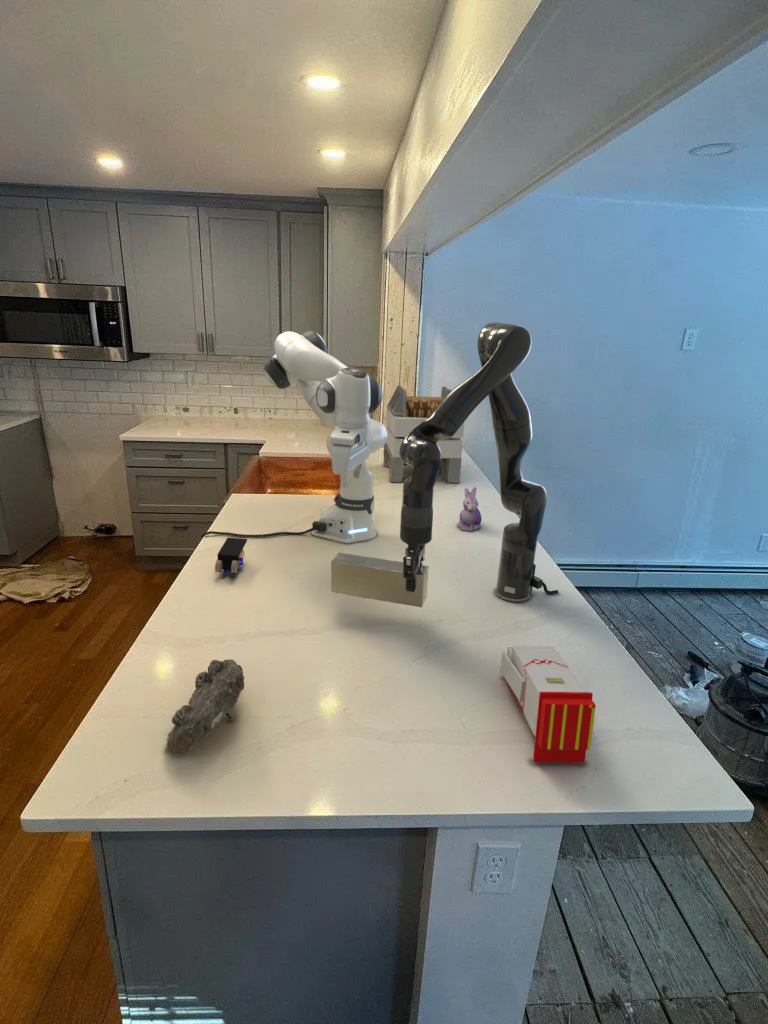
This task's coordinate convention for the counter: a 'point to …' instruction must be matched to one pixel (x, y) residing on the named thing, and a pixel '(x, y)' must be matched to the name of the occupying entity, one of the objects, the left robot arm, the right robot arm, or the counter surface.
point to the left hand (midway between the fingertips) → (351, 482)
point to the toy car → (230, 556)
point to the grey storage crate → (404, 419)
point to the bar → (376, 579)
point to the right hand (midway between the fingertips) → (413, 585)
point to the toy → (550, 702)
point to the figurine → (470, 512)
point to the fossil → (206, 705)
